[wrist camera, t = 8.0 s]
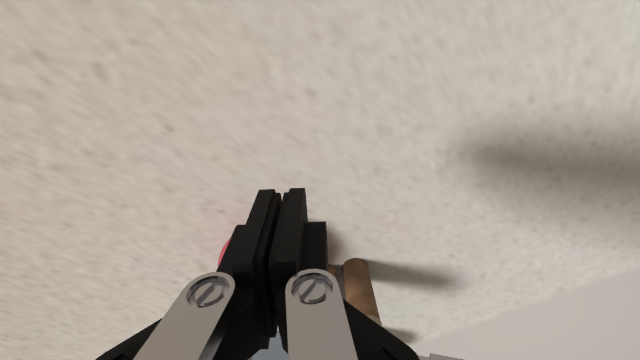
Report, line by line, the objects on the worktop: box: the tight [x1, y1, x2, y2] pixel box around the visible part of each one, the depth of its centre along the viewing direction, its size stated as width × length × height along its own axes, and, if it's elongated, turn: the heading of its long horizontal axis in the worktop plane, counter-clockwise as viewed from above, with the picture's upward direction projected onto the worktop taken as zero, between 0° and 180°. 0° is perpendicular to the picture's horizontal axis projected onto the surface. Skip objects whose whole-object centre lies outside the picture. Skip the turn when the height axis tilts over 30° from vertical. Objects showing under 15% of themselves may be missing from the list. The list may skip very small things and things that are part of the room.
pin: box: [342, 258, 382, 327], centre depth 26 cm, size 2×2×8 cm
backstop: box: [252, 332, 289, 360], centre depth 31 cm, size 16×2×4 cm, turn 93°
